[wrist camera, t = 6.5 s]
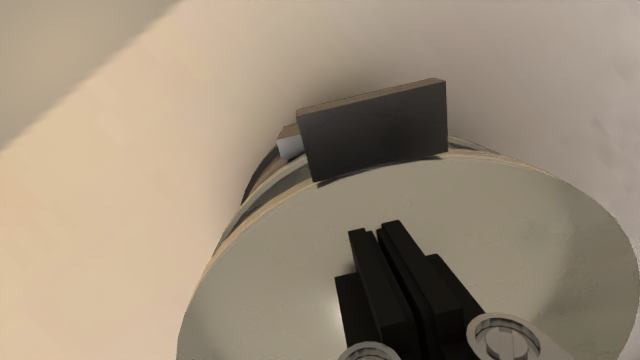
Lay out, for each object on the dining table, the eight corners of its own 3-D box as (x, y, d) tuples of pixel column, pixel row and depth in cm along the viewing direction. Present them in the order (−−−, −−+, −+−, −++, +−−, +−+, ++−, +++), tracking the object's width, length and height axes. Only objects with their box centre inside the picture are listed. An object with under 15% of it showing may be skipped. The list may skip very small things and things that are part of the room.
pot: (463, 77, 21) (590, 69, 12) (483, 324, 28) (575, 447, 18) (206, 138, 22) (128, 177, 12) (284, 367, 28) (274, 509, 19)
